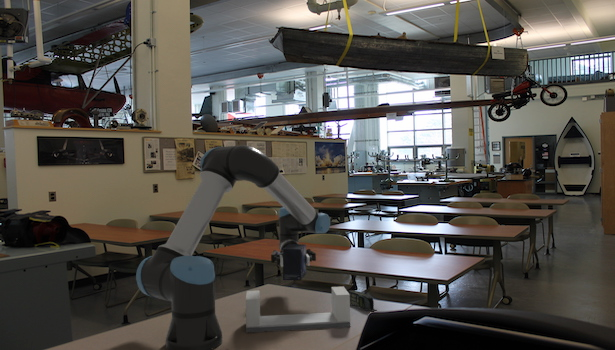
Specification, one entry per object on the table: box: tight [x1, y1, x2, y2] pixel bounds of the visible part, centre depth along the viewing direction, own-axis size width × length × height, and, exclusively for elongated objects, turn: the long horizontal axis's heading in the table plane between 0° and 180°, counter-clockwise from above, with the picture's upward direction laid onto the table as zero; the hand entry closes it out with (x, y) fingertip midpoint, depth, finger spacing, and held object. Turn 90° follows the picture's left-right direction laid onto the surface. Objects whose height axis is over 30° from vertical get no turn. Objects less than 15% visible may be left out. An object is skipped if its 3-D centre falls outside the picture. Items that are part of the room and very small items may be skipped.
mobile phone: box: [347, 289, 378, 312], centre depth 154 cm, size 5×3×15 cm
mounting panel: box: [245, 311, 351, 333], centre depth 138 cm, size 31×10×2 cm, turn 96°
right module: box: [331, 285, 351, 322], centre depth 139 cm, size 4×10×8 cm, turn 6°
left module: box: [245, 289, 261, 327], centre depth 137 cm, size 4×10×8 cm, turn 6°
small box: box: [282, 243, 307, 281], centre depth 150 cm, size 11×6×10 cm, turn 171°
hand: (295, 261), depth 145 cm, fingers closed on small box, 8 cm apart
